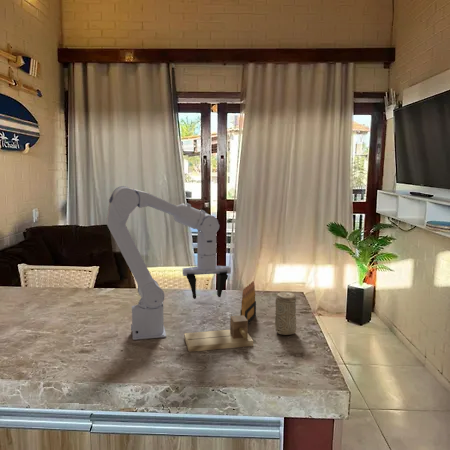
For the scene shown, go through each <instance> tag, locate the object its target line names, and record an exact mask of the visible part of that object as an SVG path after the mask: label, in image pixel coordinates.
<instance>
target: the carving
mask: <svg viewBox="0 0 450 450" xmlns="http://www.w3.org/2000/svg"><path fill="white" fill-rule="evenodd" d="M296 301H297V296H296V294H295V293H293V292H287V291H282V292H278V293H277V294H276V296H275V302H274V303H275V310H274V312H275V313H274V314H275V317H274V325H275V326H274V328H275V331H276V333H277V334H279V335H283V336H287V335H294V334H296V331H297V309H296V308H297V307H296Z"/></svg>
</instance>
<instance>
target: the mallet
mask: <svg viewBox="0 0 450 450" xmlns="http://www.w3.org/2000/svg"><path fill="white" fill-rule="evenodd" d="M248 326H249V324H248V320H247V319H246V318H245V316H244V315H241V316H240V315H233V316H232V315H231V316H230V327H229V330H230V333H231V335H232V337H233V338H234V339H236V338H244V339H247V338H248V336H247V333H248V331H249V330H248V329H249V327H248Z"/></svg>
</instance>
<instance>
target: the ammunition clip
mask: <svg viewBox="0 0 450 450" xmlns="http://www.w3.org/2000/svg"><path fill="white" fill-rule="evenodd" d="M239 313H240V315H239V316H241V315H244V316H245V318H246V319H247V320H248V325H249V324H250V323H251V322H252V321H253V319H254V318H255V317H256V315H257V301H256V288H255V282H254V281H252V282H250V283H249V284H248V285H247V286H246V287H244V288H243V289H242V296H241V309H240V312H239Z"/></svg>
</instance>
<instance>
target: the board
mask: <svg viewBox="0 0 450 450" xmlns="http://www.w3.org/2000/svg"><path fill="white" fill-rule="evenodd" d="M183 334H184V336H183V339H184V342H185V345H186V348H187V351H188V352H189V353H191V352H193V353H194V352H203V351H214V350H224V349H232V348H233V349H234V348H244V347H253V346H254V340H253V339H252V337H251V335H250V334H249V333H248V332H247V336H248V338H247V339H244V338H236V339H234V338H233V337H232V335H231V333H230V329H220V330H209V331H197V332H196V331H195V332H187V333H183Z"/></svg>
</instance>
